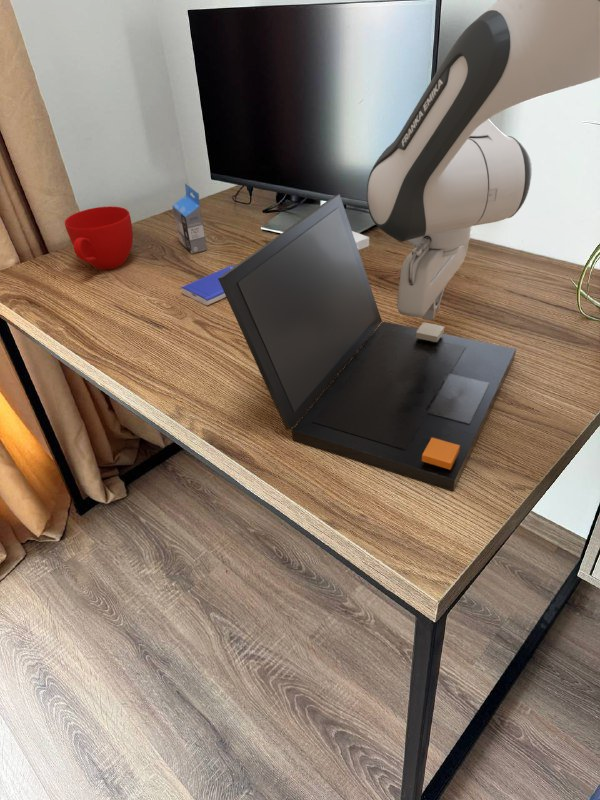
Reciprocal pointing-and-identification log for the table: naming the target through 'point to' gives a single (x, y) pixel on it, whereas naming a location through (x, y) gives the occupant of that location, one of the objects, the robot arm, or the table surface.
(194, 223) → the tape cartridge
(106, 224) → the ceramic cup
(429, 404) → the laptop
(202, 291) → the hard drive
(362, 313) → the laptop screen
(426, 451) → the key amber
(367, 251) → the table surface
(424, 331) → the off-white flat block
